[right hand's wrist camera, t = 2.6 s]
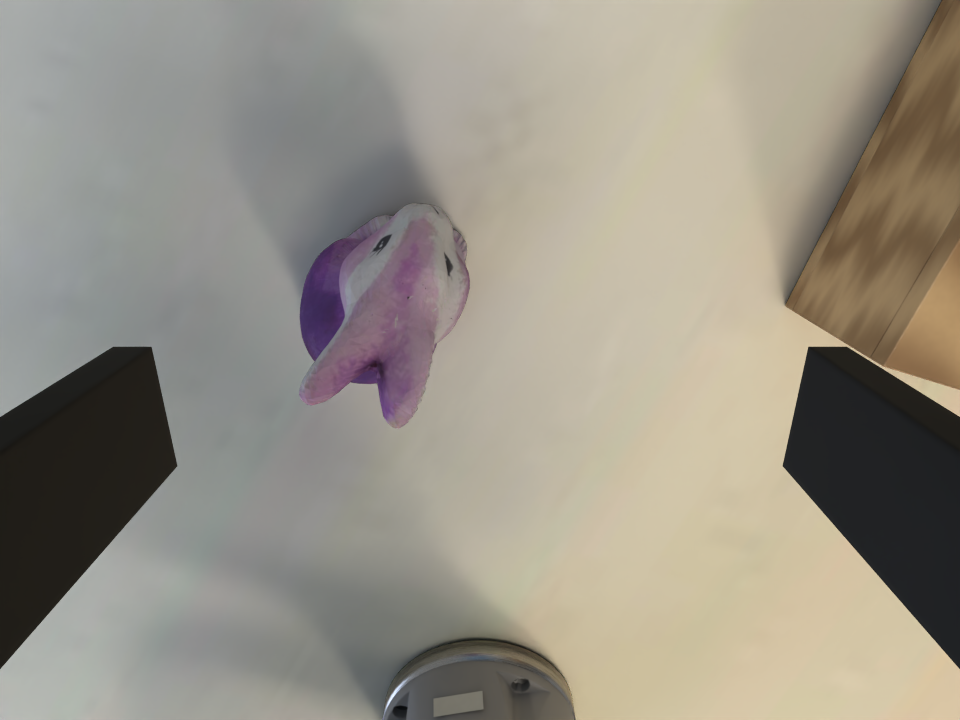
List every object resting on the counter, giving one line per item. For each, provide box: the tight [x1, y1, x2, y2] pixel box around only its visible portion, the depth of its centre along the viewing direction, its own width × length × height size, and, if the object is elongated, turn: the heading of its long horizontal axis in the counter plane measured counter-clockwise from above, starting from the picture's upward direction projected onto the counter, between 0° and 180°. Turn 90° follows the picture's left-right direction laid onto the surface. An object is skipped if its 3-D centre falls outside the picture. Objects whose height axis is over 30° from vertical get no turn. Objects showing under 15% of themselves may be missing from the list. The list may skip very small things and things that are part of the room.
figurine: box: [299, 203, 470, 429], centre depth 29 cm, size 9×10×15 cm
